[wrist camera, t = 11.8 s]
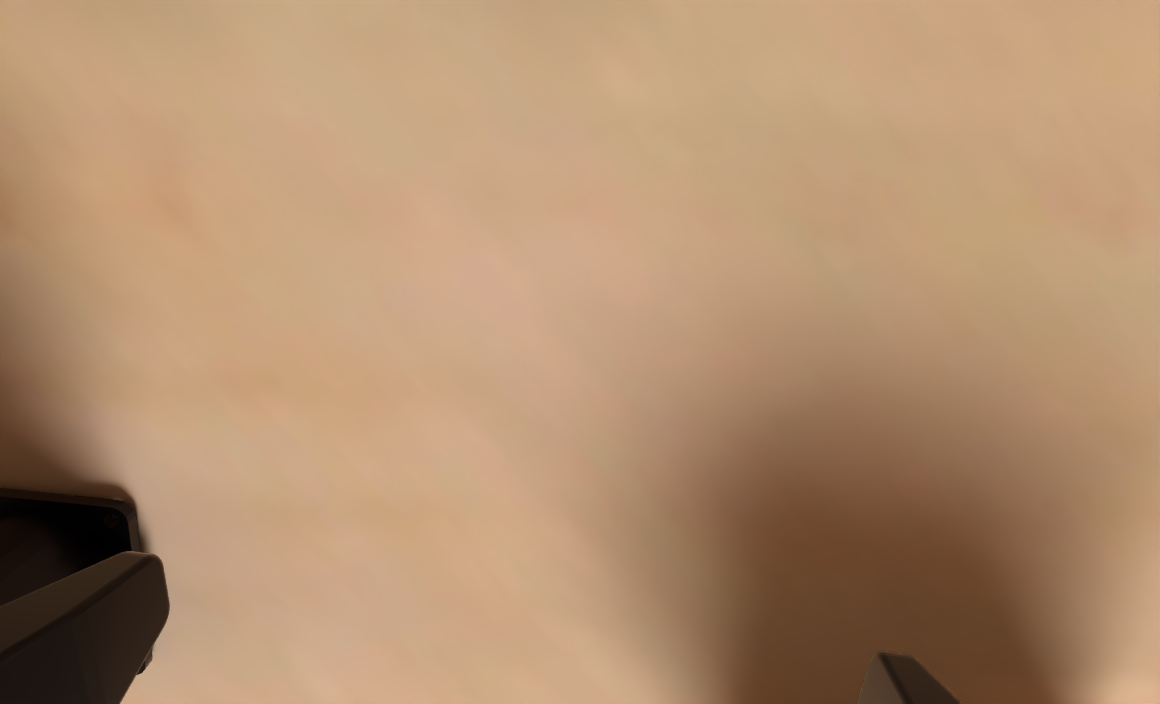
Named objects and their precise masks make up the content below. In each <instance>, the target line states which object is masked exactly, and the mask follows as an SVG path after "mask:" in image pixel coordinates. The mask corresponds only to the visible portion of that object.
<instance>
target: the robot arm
mask: <svg viewBox="0 0 1160 704" xmlns="http://www.w3.org/2000/svg"><path fill="white" fill-rule="evenodd" d="M112 514H113V515H115V516H117V517H118V518H119V520H120V521H118V520H116V519H115V518H114V517H113V516H112ZM169 607H170V604H169V597H168V591H167V585H166V579H165V573H164V567H163V563H162V560H161V559H160V558H159V557H158V556H156V555H154V554H149V553H141V552H140V545H139V537H138V528H137V519H136V514H135V511H134V509H133V508H132V507H131V506H130V505H129V504H127V503H126V502H123V501H119V500H112V499H102V498H92V497H82V496H72V495H62V494H51V493H41V492H31V491H21V490H11V489H1V488H0V704H120V703H121V701H122V699H123V697H124V696H125V694H126V692H127V690H128V689H129V687H130V685H131V683H132V682H133V680H134V678H135V676H136V675H138V674H141V673H142V672H143V671H144V670H145V669H146V667H147V666H148V665H149V663H150V662H151V661H152V647H153V645H154V643H155V641H156V640H157V638H158V636H159V634H160V633H161V631H162V629H163V627H164V625H165V623H166V621H167V618H168V615H169ZM857 704H962V703H961V702H960V701H959V700H958V699H957V698H956V697H955V696H954V695H952V694H951V693H950V692H949V691H948V690H947V689H946V688H945V687H944V686H943V685H942V684H941V683H940V682H939V681H938V680H937V679H936V678H935V677H934V676H933V675H932V674H931V673H930V672H929V671H928V670H927V669H926V668H924V667H923V666H922V665H921V664H920V663H919V662H918V661H917V660H916V659H915V658H914V657H912V656H911V655H908V654H905V653H897V652H890V651H877V652H875V653H874V654H873V655H872V657H871V660H870V663H869V666H868V669H867V672H866V675H865V678H864V682H863V685H862V688H861V691H860V694H859V698H858V703H857Z"/></svg>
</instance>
